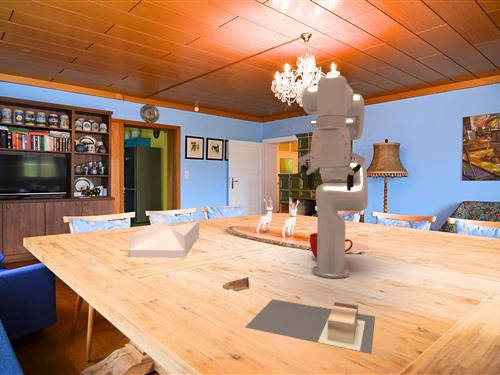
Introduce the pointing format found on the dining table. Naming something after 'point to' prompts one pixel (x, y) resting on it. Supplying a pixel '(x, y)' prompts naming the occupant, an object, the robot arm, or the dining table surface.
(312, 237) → the ceramic cup
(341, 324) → the tan tapered block
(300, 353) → the dining table surface
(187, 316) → the dining table surface
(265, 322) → the mat
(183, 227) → the hipped roof block
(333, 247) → the robot arm
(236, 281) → the shard
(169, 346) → the dining table surface
